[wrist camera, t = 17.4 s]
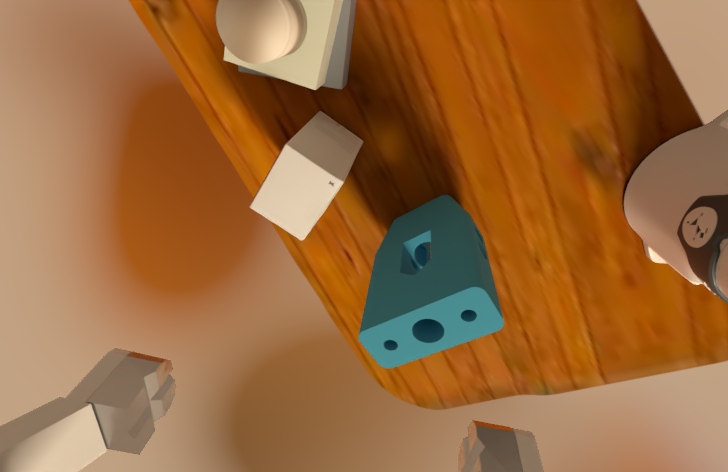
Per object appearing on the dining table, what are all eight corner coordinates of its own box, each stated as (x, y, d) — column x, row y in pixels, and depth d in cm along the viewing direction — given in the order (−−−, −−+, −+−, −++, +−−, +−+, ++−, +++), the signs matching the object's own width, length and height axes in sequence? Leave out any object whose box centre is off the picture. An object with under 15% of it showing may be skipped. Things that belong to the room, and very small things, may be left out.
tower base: (361, -35, 39) (355, -39, 36) (347, 83, 45) (341, 89, 41) (252, -52, 39) (236, -58, 36) (252, 66, 45) (238, 71, 42)
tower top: (346, -16, 36) (338, -19, 33) (324, 83, 41) (315, 90, 38) (252, -48, 36) (234, -54, 33) (240, 55, 41) (223, 60, 37)
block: (461, 184, 48) (480, 283, 31) (479, 217, 50) (507, 327, 33) (378, 227, 52) (354, 334, 35) (397, 255, 54) (384, 370, 37)
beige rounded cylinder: (317, 6, 34) (297, 5, 29) (293, 67, 37) (272, 77, 32) (258, -28, 33) (227, -35, 28) (239, 37, 36) (207, 41, 31)
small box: (319, 108, 46) (285, 141, 35) (365, 140, 47) (346, 182, 36) (287, 163, 50) (247, 208, 39) (330, 191, 51) (303, 243, 40)
